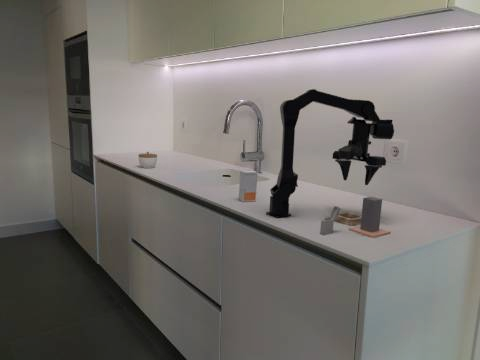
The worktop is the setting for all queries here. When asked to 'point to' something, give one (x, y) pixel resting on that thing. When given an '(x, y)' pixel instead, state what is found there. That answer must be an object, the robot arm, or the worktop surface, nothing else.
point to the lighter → (329, 221)
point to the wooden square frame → (349, 218)
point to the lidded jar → (147, 160)
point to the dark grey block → (371, 214)
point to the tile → (370, 234)
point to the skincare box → (248, 186)
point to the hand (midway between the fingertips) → (355, 182)
